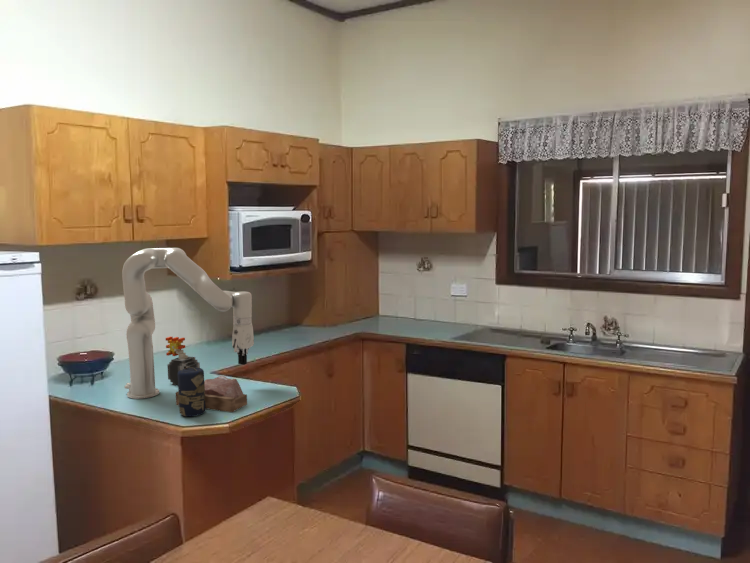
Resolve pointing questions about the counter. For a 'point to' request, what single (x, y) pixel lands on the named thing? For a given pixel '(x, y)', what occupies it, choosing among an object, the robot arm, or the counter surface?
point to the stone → (223, 387)
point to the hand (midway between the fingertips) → (242, 363)
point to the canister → (191, 391)
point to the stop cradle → (222, 402)
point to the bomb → (178, 359)
